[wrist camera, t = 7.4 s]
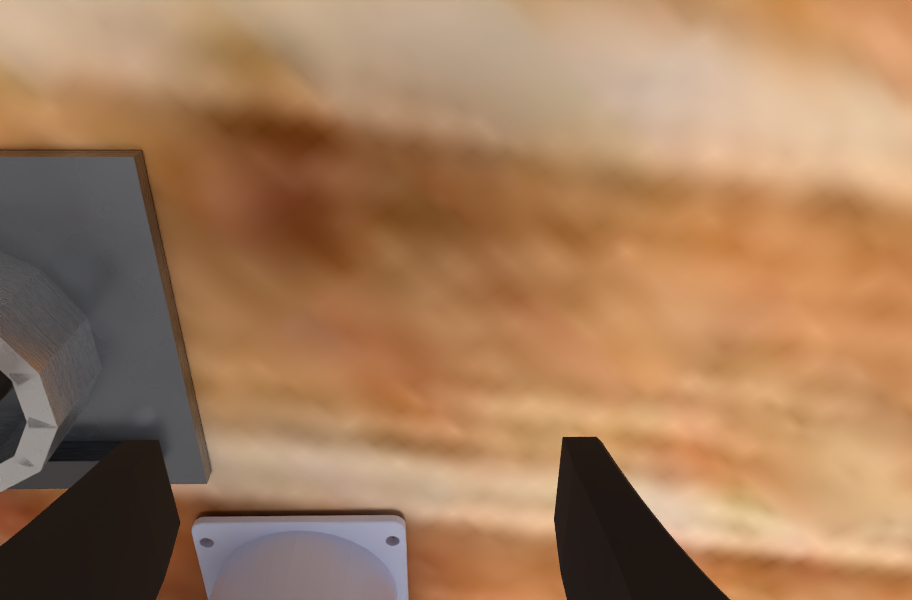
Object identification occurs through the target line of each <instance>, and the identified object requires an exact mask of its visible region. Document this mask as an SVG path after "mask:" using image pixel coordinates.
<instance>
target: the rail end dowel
mask: <svg viewBox="0 0 912 600" xmlns="http://www.w3.org/2000/svg"><path fill="white" fill-rule="evenodd" d="M13 389H14V386H13V383H12V381H11V379H9V378H8V377H7V376H6V375H5V374H4V373H3V372H2V371H1V370H0V401H1V400H2V399H3V398H4V397H5V396H7V395H8V394H9V393H10V392H11V391H12V390H13Z"/></svg>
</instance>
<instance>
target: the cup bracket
mask: <svg viewBox="0 0 912 600" xmlns="http://www.w3.org/2000/svg"><path fill="white" fill-rule="evenodd" d="M0 370H1V371H2V372H3V373H4V374H5V375H6V376H7V377H8V378H9V379H11V381H12V383H13V386H14V389H13V390H12V391H11V392H10V393H9V394H8V395H7V396H5V397H4V398H3V399H2V400H1V401H0V492H2V491H3V490H5V489H66V488H70V487H72V486H73V485H74V484H75V483H76V482H77V481H78V480H79V479H81V478H82V477H83V476H84V475H85V474H86V473H87V472H88V471H90V470H91V469H92V468H93V467H94V466H95V465H96V464H97V463H99V462H100V461H101V460H102V459H103V458H104V457H105V456H106V455H108V454H109V453H110V452H111V451H112V450H113V449H114V448H116V447H117V446H118V445H119V444H120V443H122V442H123V441H124V440H159V442H160V446H161V450H162V454H163V458H164V462H165V466H166V470H167V473H168V477H169V481H170V484H207V482H208V479H209V477H210V474H211V467H210V463H209V458H208V453H207V449H206V444H205V439H204V435H203V430H202V426H201V421H200V416H199V412H198V407H197V403H196V398H195V393H194V389H193V384H192V380H191V375H190V370H189V366H188V361H187V357H186V352H185V347H184V343H183V338H182V334H181V329H180V324H179V320H178V315H177V311H176V306H175V301H174V297H173V292H172V287H171V283H170V278H169V274H168V269H167V264H166V260H165V255H164V251H163V246H162V241H161V237H160V232H159V228H158V223H157V218H156V214H155V209H154V205H153V200H152V195H151V191H150V186H149V182H148V177H147V172H146V168H145V163H144V159H143V154H142V150H0Z"/></svg>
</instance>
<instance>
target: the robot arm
mask: <svg viewBox="0 0 912 600" xmlns="http://www.w3.org/2000/svg"><path fill="white" fill-rule="evenodd" d="M554 523H555V531H556V540H557V548H558V556H559V563H560V571H561V576H562V580H563V585H564V589H565V593H566V597H567V600H730V599H729V598H728V597H727V596H726V595H725V594H724V593H723V592H722V591H721V590H720V589H719V588H718V587H717V586H716V585H715V584H714V583H713V582H712V581H711V580H710V579H709V578H708V577H707V576H706V575H705V574H704V572H703V571H702V570H701V569H700V568H699V567H698V566H697V565H696V564H695V563H694V561H693V560H692V559H691V558H690V557H689V556H688V555H687V554H686V552H685V551H684V550H683V549H682V548H681V547H680V546H679V545H678V543H677V542H676V541H675V540H674V539H673V537H672V536H671V535H670V534H669V533H668V532H667V530H666V529H665V528H664V527H663V525H662V524H661V523H660V522H659V520H658V519H657V518H656V517H655V515H654V514H653V513H652V512H651V510H650V509H649V508H648V506H647V505H646V504H645V503H644V501H643V500H642V499H641V497H640V496H639V495H638V493H637V492H636V491H635V489H634V488H633V487H632V485H631V484H630V482H629V481H628V480H627V478H626V477H625V476H624V474H623V473H622V471H621V470H620V468H619V467H618V466H617V464H616V463H615V461H614V460H613V458H612V457H611V455H610V454H609V452H608V451H607V449H606V448H605V446H604V445H603V443H602V442H601V441H600V440H599V439H598V438H597V437H563V439H562V449H561V458H560V468H559V477H558V487H557V496H556V506H555V515H554ZM179 526H180V520H179V516H178V512H177V508H176V504H175V500H174V497H173V493H172V489H171V485H170V481H169V477H168V473H167V470H166V466H165V462H164V458H163V454H162V450H161V446H160V442H159V440H124V441H123V442H122V443H120V444H119V445H118V446H117V447H116V448H114V449H113V450H112V451H111V452H110V453H109V454H108V455H106V456H105V457H104V458H103V459H102V460H101V461H100V462H99V463H97V464H96V465H95V466H94V467H93V468H92V469H91V470H90V471H88V472H87V473H86V474H85V475H84V476H83V477H82V478H81V479H79V480H78V481H77V482H76V483H75V484H74V485H73V486H72V487H70V488H69V489H68V490H67V491H66V492H65V493H64V494H62V495H61V496H60V497H59V498H58V499H57V500H55V501H54V502H53V503H52V504H51V505H50V506H49V507H47V508H46V509H45V510H44V511H43V512H42V513H40V514H39V515H38V516H37V517H36V518H35V519H34V520H32V521H31V522H30V523H29V524H28V525H26V526H25V527H24V528H23V529H22V530H20V531H19V532H18V533H17V534H15V535H14V536H13V537H12V538H10V539H9V540H8V541H7V542H5V543H4V544H3V545H2V546H0V600H156V598H157V595H158V593H159V590H160V588H161V586H162V583H163V581H164V578H165V575H166V572H167V569H168V565H169V562H170V558H171V555H172V552H173V548H174V544H175V540H176V537H177V533H178V529H179ZM191 533H192V537H193V541H194V545H195V549H196V553H197V557H198V561H199V565H200V569H201V573H202V577H203V581H204V585H205V589H206V593H207V597H208V600H409V595H408V569H407V543H406V524H405V521H404V520H403V519H402V518H401V517H399V516H396V515H338V516H230V517H200V518H198V519H196V521H195V522H194V524H193V526H192V529H191ZM390 536H395V538H392V537H390ZM206 538H209V539H206ZM210 539H211V540H210Z"/></svg>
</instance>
